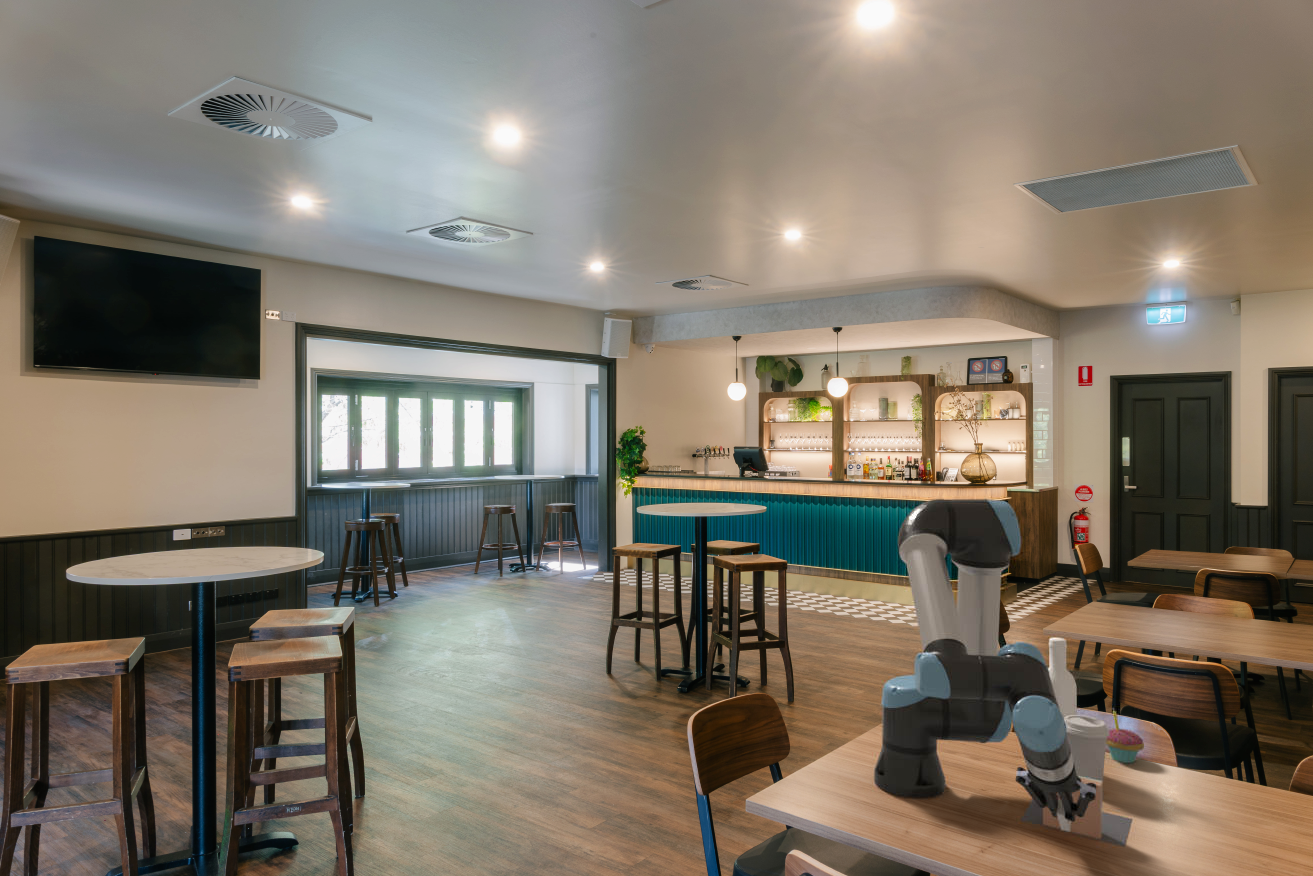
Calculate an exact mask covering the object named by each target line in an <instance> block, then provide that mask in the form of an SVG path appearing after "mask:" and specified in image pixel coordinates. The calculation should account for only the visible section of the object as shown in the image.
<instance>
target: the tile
mask: <svg viewBox="0 0 1313 876" xmlns="http://www.w3.org/2000/svg"><path fill="white" fill-rule="evenodd" d="M1078 777H1079V778H1080V779H1081V782H1082V783H1086V784H1088V783H1094V784H1096V796H1095V800H1092V801H1090V802H1089V804H1088V807H1087V809H1086V811H1085V814H1084V816H1083V817H1078V816H1075V821H1074V822H1073V821H1071V828H1070V832H1074V833H1078V834H1082V835H1086V836H1090V837H1094V838H1097V839H1101V837H1102V834H1103V812H1104V811H1103V810H1104V809H1103V808H1104V807H1103V805H1104V803H1103V802H1104V801H1103V784H1102V781H1100V780H1095V779H1090V778H1086V777H1081V776H1078ZM1057 795H1059V794H1058V793H1057ZM1079 795H1080V790H1078V791H1076V792H1073V793H1072V797H1073V801H1074V803H1077V801H1078V798H1079ZM1058 800H1061V799H1060V798H1059V796H1058ZM1043 825H1047V826H1051V827H1054V828H1058V829H1061V827H1060V824H1059V820H1058V818H1056V817H1053V816H1052V814H1051V811H1050V810H1049V808H1048V807H1045V808H1043Z"/></svg>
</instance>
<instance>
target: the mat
mask: <svg viewBox="0 0 1313 876" xmlns="http://www.w3.org/2000/svg"><path fill="white" fill-rule="evenodd" d="M1020 821H1022V822H1026V823H1031V824H1034V825H1039V826H1041V827H1046V828H1050V829H1054V830H1058V831H1061V832H1065V833H1069V834H1073V835H1077V836H1081V837H1084V838H1087V839H1092V840H1097V841H1100V842H1104V843H1108V844H1111V845H1116V846H1119V847H1120V846H1121V847H1123V848H1124V847H1125V848H1126V844H1127V840H1128V836H1129V834H1130V833H1129V832H1130V829H1131V824H1132V821H1133V818H1129V817H1126V816H1122V815H1121V816H1120V815H1117V814H1112V813H1109V812H1106V811H1105V812H1104V811H1103V834H1102V837H1101V839H1097V838H1094V837H1090V836H1086V835H1082V834H1078V833H1074V832H1068V831H1064V830H1061V829H1058V828H1054V827H1051V826H1047V825H1043V808H1040V807H1039V806H1038V805H1037V804H1036V802H1035V801H1034V800H1033V798H1031V801H1030V803H1029V805H1028V807H1027V808H1026V809H1025V811H1024V813H1023V815H1022V816H1021V819H1020Z"/></svg>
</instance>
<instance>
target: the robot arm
mask: <svg viewBox="0 0 1313 876" xmlns="http://www.w3.org/2000/svg"><path fill="white" fill-rule="evenodd" d="M1020 529H1021V528H1020V525H1019V521H1018V517H1017V514H1016V512H1015V510H1014V508H1013V507H1012V505H1011V504H1010V503H1009V502H1006V501H1004V500H995V499H988V498H985V499H984V498H983V499H982V498H981V499H980V498H978V499H977V498H976V499H974V498H971V499H967V498H966V499H964V498H963V499H952V498H951V499H945V498H935V499H931V500H926V501H925V502H922V503H921V504H919V505H918V506H916V507H915V508H913V509H912V510H911V511H910V512H909V513H908V515H907V516H906V517H905V519H904V521H903V522H902V523H901V526H900V528H899V532H898V536H897V547H898V554H899V558H900V559H901V560H902V562H903V563H905V564H906V568H907V573H908V574H907V575H908V579H909V585H910V589H911V594H912V600H913V605H914V610H915V614H916V621H917V625H918V631H919V635H920V641H921V646H922V651H923V652H919V653H917V654H916V656H915V659H914V666H913V667H914V669H913V670H914V674H908V675H907V674H906V675H901V676H897V677H893V678H891V679H889V680H887V681H886V682H885V683H884V684H883V687H882V695H881V696H882V697H881V703H880V704H881V706H882V714H881V718H882V722H881V723H882V727H881V728H882V729H881V730H882V731H881V733H882V738H881V740H882V741H881V743H882V746H881V748H880V752H879V755H878V758H877V761H876V763H875V764H876V765H875V767H874V770H873V772H874V773H873V774H874V776H873V781H874V783H875V785H876V786H877V787H878V788H880V789H881V790H883V791H885V792H888V793H889V794H892V795H895V796H899V797H905V798H911V799H930V798H936V797H938V796H939V797H940V796H941V795H943V794H944V793H945V792H946V777H945V773H944V771H943V767H942V764H941V761H940V758H939V755H938V750H937V749H938V745H937V744H938V741H939V740H940V741H953V742H955V741H956V742H969V743H971V742H972V743H981V744H987V743H1000V742H1001V743H1002V742H1003V741H1004V740H1005V739H1006V738H1007V737H1008V736H1009V734H1010V731H1011V727H1012V724H1013V729H1014V730H1013V731H1014V732H1015V736H1016V738H1017V740H1018V742H1019V745H1020V747H1021V751H1022V755H1023V758H1024V762H1025V765H1026V768H1027V769H1025V768H1024V767H1021V766H1017V769H1016V776H1015V782H1017V783H1018V784H1019V785H1020V786H1022V787H1023V788H1024V789H1025V791H1026V793H1027V794H1028V795H1029V796H1030V797H1031V799H1033V800H1034V801H1035V802H1036V804H1037V805H1038V806H1039V807H1040V808H1045V807H1048V808H1049V810H1050V811H1051V814H1052V816H1053V817H1056V818H1058V820H1059V824H1060V827H1061V830H1064V831H1063V832H1065V831H1068V832H1067V833H1069V832H1070V828H1071V821H1073V822H1074V821H1075V816H1078V817H1083V816H1084V814H1085V811H1086V809H1087V807H1088V804H1089V802H1090V801H1092V800H1095V796H1096V784H1094V783H1088V784H1086V783H1082V782H1081V779H1080V778H1079V777H1078V776H1077V773H1076V769H1075V765H1074V761H1073V757H1072V753H1071V749H1070V745H1069V742H1068V737H1067V732H1066V730H1067V729H1066V724H1065V722H1064V718H1063V715H1062V713H1061V712H1060V708H1059V705H1058V702H1057V700H1056V697H1055V694H1054V690H1053V686H1052V683H1051V679H1050V675H1049V670H1048V668H1049V667H1048V666H1047V663H1046V661H1045V658H1044V656H1043V654H1042V652H1041V650H1040V649H1039V648H1038V647H1037V646H1035V645H1034V644H1031V643H1030V642H1023V641H1016V642H1015V643H1013V644H1011V643H1008V644H1005V645H1003V646H1002V647H1001V648H1000V649H999V632H1000V631H999V630H1000V629H999V628H1000V606H1001V604H1000V603H1001V585H1002V583H1001V582H1002V572H1003V571H1004V570H1007V568H1009V566H1010V559H1011V558H1010V557H1015V556H1017V555H1019V554H1020V552H1021V547H1022V538H1021V530H1020ZM947 554H948V555H949V554H950V555H951V556H950V557H951V558H950V559H951V562H952V563H953V564H954V565H955V566H956V567H957V569H958V570H957V573H958V574H957V596H956V597H957V598H955V596H954V592H953V588H952V583H951V579H950V575H949V574H950V573H949V571H948V567H947V563H946V560H945V558H946V556H947ZM955 599H956V600H955ZM1078 790H1080V795H1079V798H1078V801H1077V803H1074V801H1073V797H1072V793H1073V792H1076V791H1078ZM1057 793H1058V794H1059V795H1057ZM1058 796H1059V798H1060V799H1061V800H1058ZM1061 830H1060V831H1061Z"/></svg>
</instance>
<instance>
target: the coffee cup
mask: <svg viewBox="0 0 1313 876" xmlns="http://www.w3.org/2000/svg"><path fill="white" fill-rule="evenodd" d="M1064 722H1065V724H1066V729H1067V730H1066V732H1067V737H1068V742H1069V745H1070V749H1071V753H1072V757H1073V761H1074V765H1075V769H1076V773H1077V776H1081V777H1086V778H1090V779H1095V780H1100V781H1102V785H1103V781H1104V771H1105V770H1104V769H1105V759H1106V748H1107V744H1106V740H1107V736H1109V730H1108V729H1109V728H1108V727H1107V726H1106V723H1105V722H1104V721H1103V720H1102V719H1099V718H1097V717H1093V716H1090V715H1089V716H1088V715H1082V714H1081V715H1080V714H1077V715H1068V716H1066V717H1065V718H1064Z"/></svg>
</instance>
